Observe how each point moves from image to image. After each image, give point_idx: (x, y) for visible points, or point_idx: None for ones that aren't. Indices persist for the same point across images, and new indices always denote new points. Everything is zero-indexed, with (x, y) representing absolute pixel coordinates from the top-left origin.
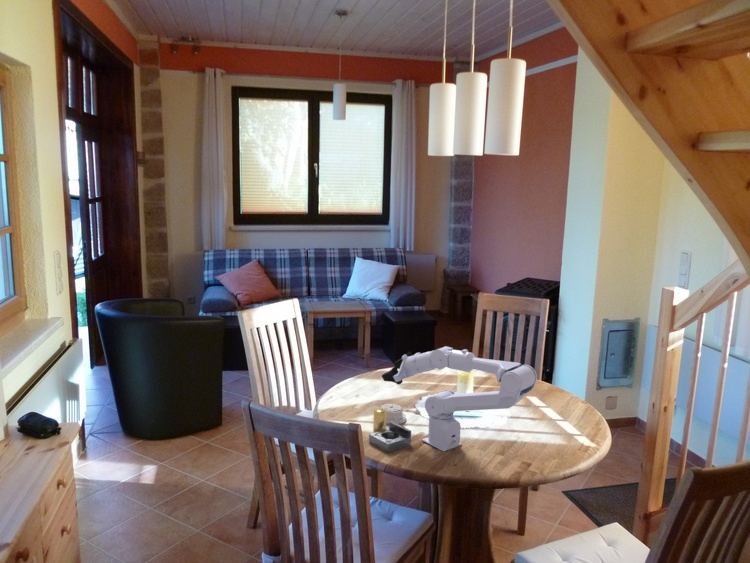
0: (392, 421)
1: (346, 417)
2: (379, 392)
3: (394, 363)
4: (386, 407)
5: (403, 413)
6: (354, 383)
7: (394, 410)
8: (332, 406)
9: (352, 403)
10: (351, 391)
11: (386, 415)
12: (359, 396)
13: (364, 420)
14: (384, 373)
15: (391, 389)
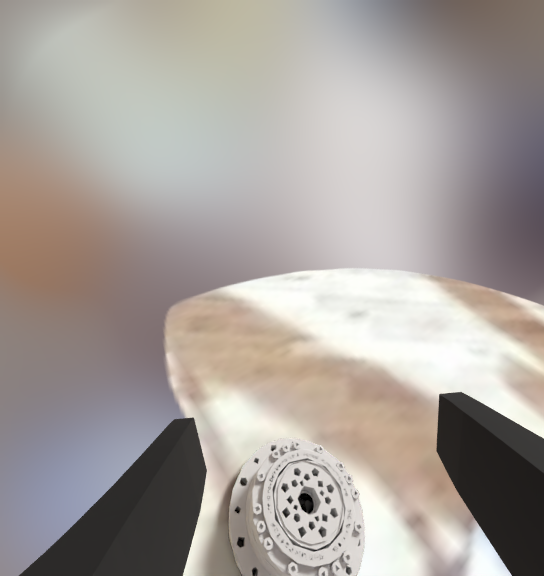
0: (243, 570)
1: (208, 361)
2: (423, 346)
3: (446, 402)
4: (289, 478)
5: (361, 551)
6: (401, 282)
7: (286, 548)
8: (256, 301)
9: (308, 328)
10: (363, 295)
11: (249, 515)
12: (357, 320)
13: (217, 423)
14: (165, 446)
15: (468, 361)
